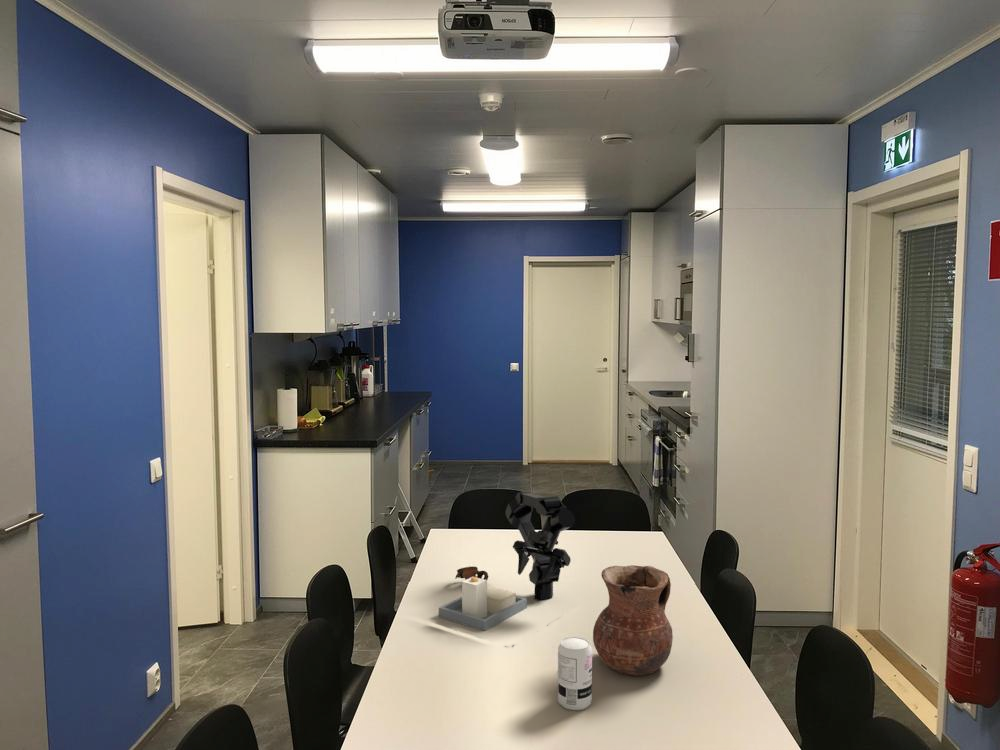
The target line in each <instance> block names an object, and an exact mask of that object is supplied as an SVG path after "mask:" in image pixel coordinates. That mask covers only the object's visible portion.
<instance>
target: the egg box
mask: <svg viewBox="0 0 1000 750" xmlns="http://www.w3.org/2000/svg"><path fill="white" fill-rule="evenodd" d="M516 596H517V592H516V591H512V590H508V589H504V588H500V587H498V586H497V587H496V586H492V585H489V584H487V612H489V613H493V614H495V613H497V612H499V611H501V610H503V609H505V608H506V607H508V606H510V605H512V604H514V603H516Z"/></svg>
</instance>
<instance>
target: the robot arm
mask: <svg viewBox="0 0 1000 750" xmlns="http://www.w3.org/2000/svg"><path fill="white" fill-rule="evenodd" d="M534 509H535V511H536V513H537V514H539V515H540V516H543V517H547V518H546V519H545V522H544V524H543V526H542V529H541V530H537V531H536V530H535V527H534V525H533V524H532V521H531V519H532V512H533V510H534ZM505 516H506V519H507V520H508V523H510V525H511V526H513V527H514V528H516V529H518V531H519V533H520V535H521V538H522V540H523V541H522V540H516V541H514V542H513V544H512V549H513V550H514V551H515V553H516V554H517V555H518V565H517V574H518V575H519V576H520V575H521V574H522V573H523V572H524V570H525V568H526V566H527V564H528V563H529V561H530V558H529V557H531V558H532V560H533V561H532V567H531V570H530V572H529V574H528V577H529V582H531V583H532V584H534V600H536V601H540V602H541V601H547V600H552V599H553V596H554V583H555V582H557V583H558V582H559V580H560V579H559V578H560V575H561V568H562V569H564V568H565V567H569V566H570V563H571V562H572V561H571V556H570V555H569V554H568V552H567V551H566V549H562V548H557V547H555V546H558V544H559V541H558V539H559V536H560V534H561V532H563V531H565V530H568V529H569V528H572V527H573V526H574V524H575V522H576V519H575V518H576V517H575V515H574V513H573V512H572V511H571V510H569V509H568V508H567V506H566V505H564V503H563V502H562V500H561V499H560V498H559V497H558V496H557V495H549V496H543V495H540V494H536V493H533V492H531V491H523V492H518V493H516V495H515V497H514V498H513V499H512V500H511V501H509V503H507V507H506V509H505Z"/></svg>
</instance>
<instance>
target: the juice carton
mask: <svg viewBox="0 0 1000 750" xmlns="http://www.w3.org/2000/svg"><path fill="white" fill-rule="evenodd" d="M461 585H462V587H461V597H462V613H464V614H468V615H471V616H474V617H478V618H481V619H483V618H485V617H486V616H487V585H488V580H485V579H483V578H482V579H481V578H477V576H476V577H471V578H469V579H467V580H465V579H463V581H461Z"/></svg>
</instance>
